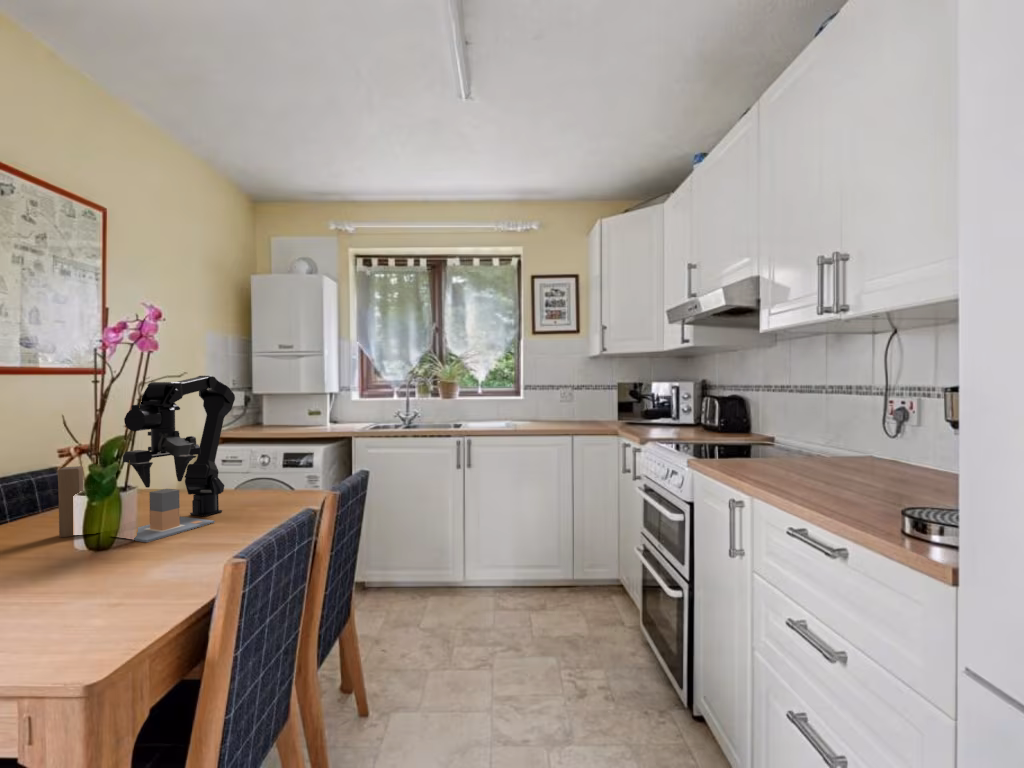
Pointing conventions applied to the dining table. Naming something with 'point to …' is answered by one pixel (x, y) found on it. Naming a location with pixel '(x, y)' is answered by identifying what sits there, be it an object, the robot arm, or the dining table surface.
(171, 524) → the terracotta cube
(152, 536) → the board
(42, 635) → the dining table surface
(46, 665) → the dining table surface
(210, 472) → the robot arm
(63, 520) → the wooden block
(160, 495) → the charcoal cube
